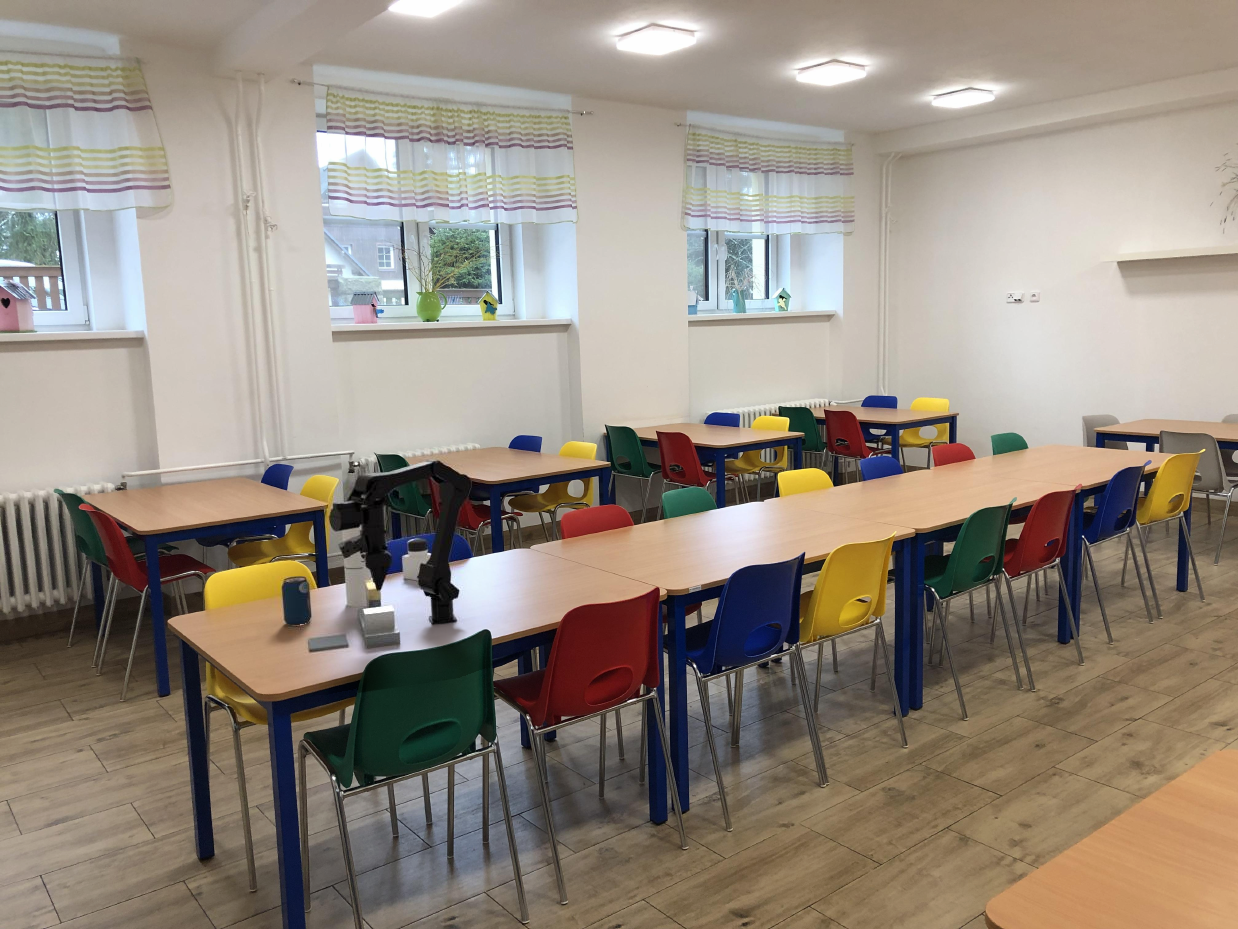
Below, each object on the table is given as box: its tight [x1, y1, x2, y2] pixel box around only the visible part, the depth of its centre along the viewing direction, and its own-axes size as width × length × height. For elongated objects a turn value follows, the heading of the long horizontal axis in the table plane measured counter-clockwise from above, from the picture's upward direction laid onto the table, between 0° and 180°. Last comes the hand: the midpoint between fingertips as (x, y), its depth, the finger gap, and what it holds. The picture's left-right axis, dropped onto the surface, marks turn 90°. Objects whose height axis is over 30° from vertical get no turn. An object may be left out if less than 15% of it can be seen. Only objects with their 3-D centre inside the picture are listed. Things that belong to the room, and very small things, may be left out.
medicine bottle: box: [401, 538, 431, 581], centre depth 299 cm, size 7×7×12 cm
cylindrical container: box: [341, 525, 372, 608], centre depth 270 cm, size 7×7×25 cm
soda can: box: [281, 575, 313, 626], centre depth 253 cm, size 7×7×12 cm
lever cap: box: [363, 605, 396, 630], centre depth 239 cm, size 5×7×4 cm
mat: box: [307, 633, 350, 652], centre depth 235 cm, size 9×9×1 cm
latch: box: [365, 580, 382, 601], centre depth 251 cm, size 10×3×3 cm, turn 20°
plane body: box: [356, 594, 401, 649], centre depth 244 cm, size 26×8×7 cm, turn 20°
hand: (377, 586), depth 238 cm, fingers open, 7 cm apart
